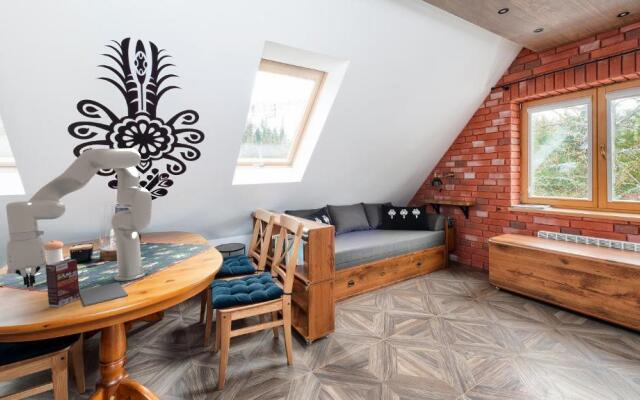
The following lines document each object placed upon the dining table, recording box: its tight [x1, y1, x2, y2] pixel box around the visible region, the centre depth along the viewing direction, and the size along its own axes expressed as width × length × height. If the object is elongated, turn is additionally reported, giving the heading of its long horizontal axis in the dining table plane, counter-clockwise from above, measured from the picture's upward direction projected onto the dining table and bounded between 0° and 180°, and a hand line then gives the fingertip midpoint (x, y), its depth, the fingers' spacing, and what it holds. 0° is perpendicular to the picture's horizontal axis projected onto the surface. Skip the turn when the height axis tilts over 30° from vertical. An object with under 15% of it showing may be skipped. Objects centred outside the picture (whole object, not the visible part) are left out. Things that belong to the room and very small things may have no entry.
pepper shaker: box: [44, 239, 65, 280], centre depth 143 cm, size 7×7×19 cm
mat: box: [79, 281, 129, 307], centre depth 127 cm, size 14×20×1 cm
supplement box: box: [45, 258, 81, 308], centre depth 119 cm, size 9×5×16 cm, turn 168°
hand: (30, 286), depth 112 cm, fingers closed
